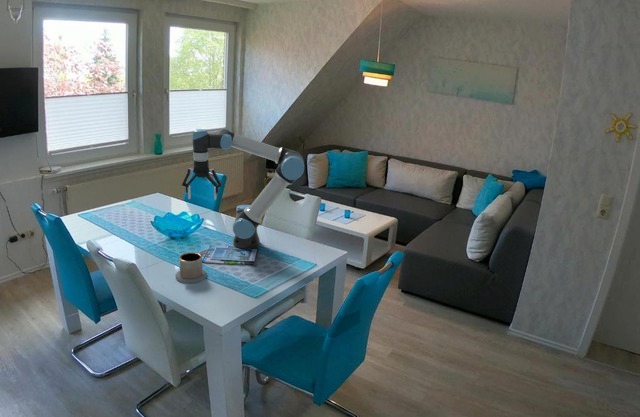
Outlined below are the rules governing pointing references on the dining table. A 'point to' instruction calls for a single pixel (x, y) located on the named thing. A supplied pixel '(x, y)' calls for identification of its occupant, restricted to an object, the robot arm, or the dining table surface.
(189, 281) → the saucer
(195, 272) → the planter
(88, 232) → the dining table surface
